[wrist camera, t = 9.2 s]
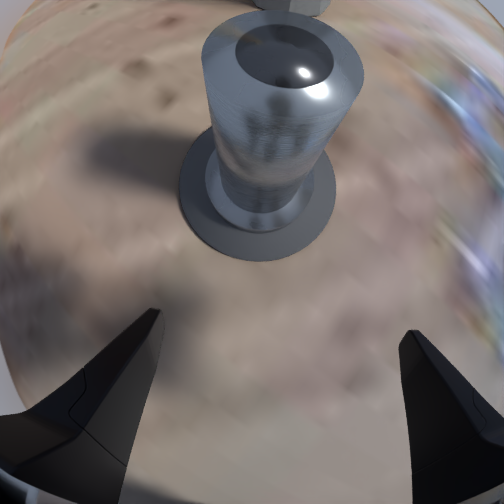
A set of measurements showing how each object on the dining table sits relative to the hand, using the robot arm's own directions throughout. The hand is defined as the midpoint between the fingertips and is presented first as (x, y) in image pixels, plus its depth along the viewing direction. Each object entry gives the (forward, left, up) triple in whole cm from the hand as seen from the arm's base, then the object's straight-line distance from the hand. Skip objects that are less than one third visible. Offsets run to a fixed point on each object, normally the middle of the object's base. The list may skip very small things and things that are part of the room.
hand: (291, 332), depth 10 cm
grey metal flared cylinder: (+8, +3, -9) cm, 13 cm away
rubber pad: (+8, +3, -10) cm, 13 cm away
